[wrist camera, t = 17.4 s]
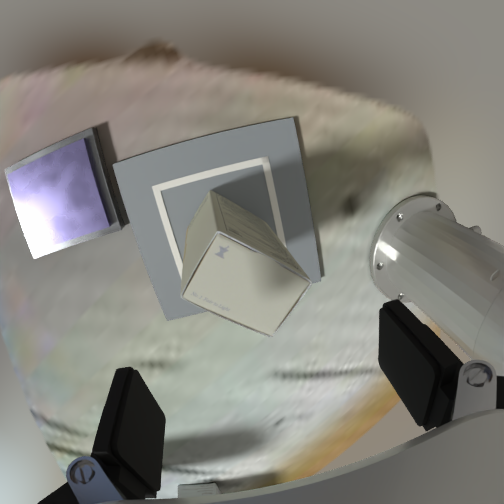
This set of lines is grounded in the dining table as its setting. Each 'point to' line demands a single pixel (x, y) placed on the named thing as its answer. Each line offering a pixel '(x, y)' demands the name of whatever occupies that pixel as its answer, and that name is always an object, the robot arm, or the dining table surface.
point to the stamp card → (225, 184)
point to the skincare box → (239, 267)
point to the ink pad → (64, 194)
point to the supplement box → (198, 490)
